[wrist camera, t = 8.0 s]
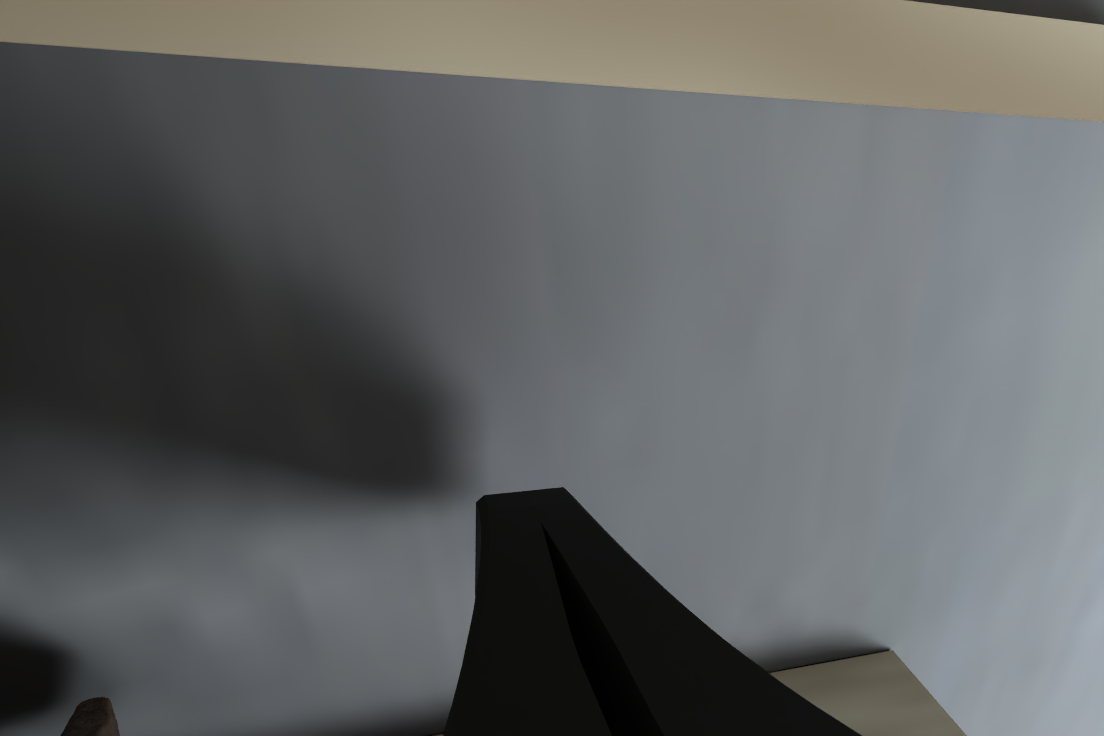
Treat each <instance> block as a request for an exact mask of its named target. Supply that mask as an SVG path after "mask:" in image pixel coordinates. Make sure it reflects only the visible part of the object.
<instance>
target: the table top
mask: <svg viewBox="0 0 1104 736" xmlns="http://www.w3.org/2000/svg"><path fill="white" fill-rule="evenodd" d="M0 42H12V43H26V44H40V45H53V46H67V47H81V48H95V49H109V50H122V51H136V52H150V53H164V54H178V55H191V56H205V57H219V58H233V59H246V60H260V61H274V62H288V63H302V64H315V65H329V66H343V67H357V68H370V69H384V70H398V71H412V72H426V73H439V74H453V75H467V76H481V77H495V78H508V79H522V80H536V81H550V82H563V83H577V84H591V85H605V86H619V87H632V88H646V89H660V90H674V91H687V92H701V93H715V94H729V95H743V96H756V97H770V98H784V99H798V100H812V101H825V102H839V103H853V104H867V105H880V106H894V107H908V108H922V109H936V110H949V111H963V112H977V113H991V114H1004V115H1018V116H1032V117H1046V118H1060V119H1073V120H1087V121H1101V122H1104V25H1101V24H1093V23H1085V22H1077V21H1069V20H1060V19H1052V18H1044V17H1036V16H1028V15H1020V14H1012V13H1004V12H996V11H988V10H980V9H972V8H963V7H955V6H947V5H939V4H931V3H923V2H915V1H907V0H0ZM769 674H771V675H772V676H774V677H775V678H776V679H778V680H779V681H780V682H782V683H783V684H784V685H786V686H787V687H789V688H790V689H792V690H793V691H795V692H796V693H798V694H799V695H800V696H802V697H803V698H805V699H806V700H808V701H809V702H811V703H812V704H814V705H815V706H817V707H818V708H820V709H821V710H823V711H824V712H826V713H828V714H829V715H831V716H832V717H834V718H835V719H837V720H839V721H840V722H842V723H843V724H845V725H846V726H848V727H850V728H851V729H853V730H854V731H856V732H857V733H859V734H861V735H862V736H966V735H965V733H964V732H963V731H962V730H961V729H960V728H959V726H958V725H957V724H956V723H955V722H954V721H953V719H952V718H951V717H950V716H949V715H948V714H947V713H946V711H945V710H944V709H943V708H942V707H941V706H940V704H939V703H938V702H937V701H936V700H935V699H934V698H933V696H932V695H931V694H930V693H929V692H928V691H927V689H926V688H925V687H924V686H923V685H922V684H921V682H920V681H919V680H918V679H917V678H916V677H915V676H914V674H913V673H912V672H911V671H910V670H909V669H908V667H907V666H906V665H905V664H904V663H903V662H902V661H901V659H900V658H899V657H898V656H897V655H896V654H895V652H894V651H893V650H892V651H886V652H881V653H876V654H870V655H865V656H859V657H854V658H849V659H843V660H838V661H832V662H827V663H822V664H816V665H811V666H806V667H800V668H795V669H789V670H784V671H779V672H773V673H769ZM434 736H443V734H439V735H434Z"/></svg>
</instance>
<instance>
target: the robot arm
mask: <svg viewBox="0 0 1104 736" xmlns="http://www.w3.org/2000/svg"><path fill="white" fill-rule="evenodd" d="M443 736H862V735H861V734H859V733H857V732H856V731H854V730H853V729H851V728H850V727H848V726H846V725H845V724H843V723H842V722H840V721H839V720H837V719H835V718H834V717H832V716H831V715H829V714H828V713H826V712H824V711H823V710H821V709H820V708H818V707H817V706H815V705H814V704H812V703H811V702H809V701H808V700H806V699H805V698H803V697H802V696H800V695H799V694H798V693H796V692H795V691H793V690H792V689H790V688H789V687H787V686H786V685H784V684H783V683H782V682H780V681H779V680H778V679H776V678H775V677H774V676H772V675H771V674H769V673H768V672H767V671H765V670H764V669H763V668H761V667H760V666H759V665H757V664H756V663H755V662H753V661H752V660H750V659H749V658H748V657H746V656H745V655H744V654H742V653H741V652H740V651H738V650H737V649H736V648H734V647H733V646H732V645H731V644H729V643H728V642H727V641H725V640H724V639H723V638H722V637H720V636H719V635H718V634H717V633H716V632H714V631H713V630H712V629H711V628H709V627H708V626H707V625H706V624H705V623H704V622H702V621H701V620H700V619H699V618H698V617H697V616H695V615H694V614H693V613H692V612H691V611H690V610H688V609H687V608H686V607H685V606H684V605H683V604H681V603H680V602H679V601H678V600H677V599H676V598H675V597H674V596H673V595H671V594H670V593H669V592H668V591H667V590H666V589H665V588H664V587H663V586H662V585H661V584H659V583H658V582H657V581H656V580H655V579H654V578H653V577H652V576H651V575H650V574H649V573H648V572H647V571H646V570H645V569H644V568H643V567H642V566H640V565H639V564H638V563H637V562H636V561H635V560H634V559H633V558H632V557H631V556H630V555H629V554H628V553H627V552H626V551H625V550H624V549H623V548H622V547H621V546H620V545H619V544H618V543H617V542H616V541H615V540H614V539H613V538H612V537H611V536H610V535H609V534H608V533H607V532H606V531H605V530H604V529H603V528H602V527H601V526H600V524H599V523H598V522H597V521H596V520H595V519H594V518H593V517H592V516H591V515H590V514H589V513H588V512H587V511H586V510H585V509H584V508H583V507H582V505H581V504H580V503H579V502H578V501H577V500H576V499H575V498H574V497H573V496H572V495H571V494H570V493H569V492H568V491H567V490H566V489H565V488H564V487H561V488H551V489H541V490H532V491H522V492H512V493H502V494H492V495H484V496H483V497H482V498H480V499H479V500H478V501H477V502H476V562H475V604H474V610H473V616H472V620H471V625H470V630H469V635H468V639H467V644H466V649H465V654H464V659H463V663H462V668H461V672H460V676H459V680H458V684H457V688H456V691H455V695H454V699H453V703H452V706H451V710H450V713H449V717H448V720H447V724H446V727H445V731H444V734H443Z"/></svg>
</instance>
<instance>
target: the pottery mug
mask: <svg viewBox="0 0 1104 736" xmlns="http://www.w3.org/2000/svg"><path fill="white" fill-rule="evenodd" d="M61 736H120V734H119V730H118V724H117V720H116V719H115V714H114V712H113V707H112V704H111V702H110V700H109V699H108V698H105V697H97V698H92V699H88V700H86V701H83V702H81V703H80V704H79V705H78V706H77V707H76V710H75V712H74V714H73V715H72V717H71V718H70V720H69V722H68V724H67V726H66V727H65V729H64V731H63V733H62V734H61Z"/></svg>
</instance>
